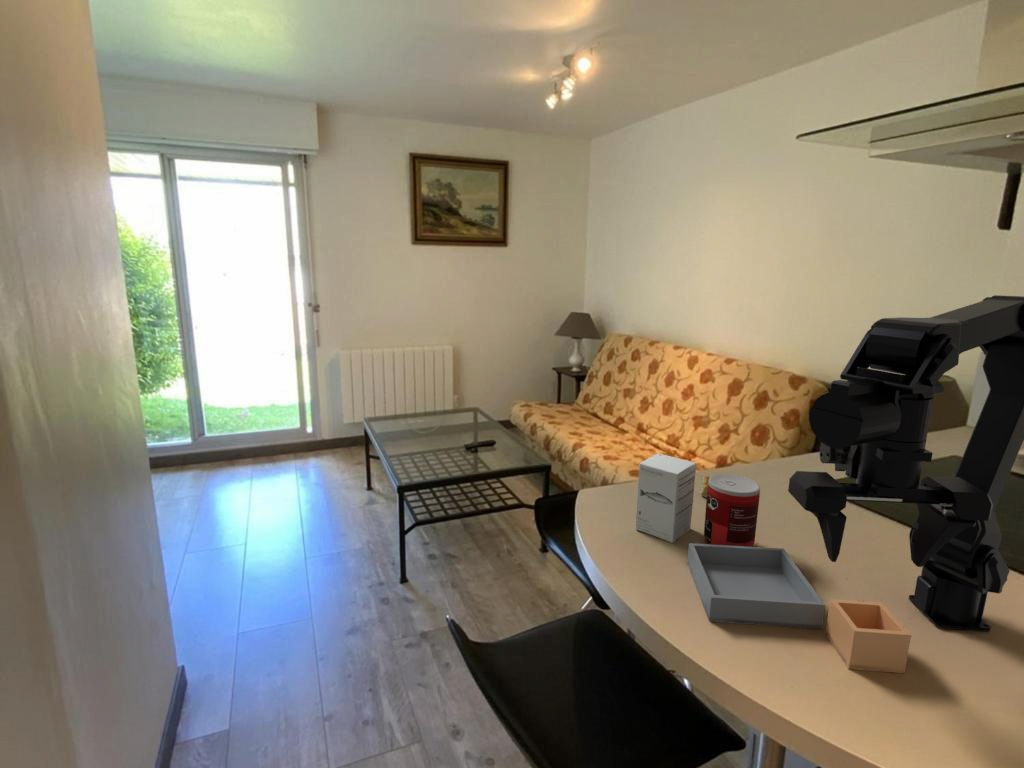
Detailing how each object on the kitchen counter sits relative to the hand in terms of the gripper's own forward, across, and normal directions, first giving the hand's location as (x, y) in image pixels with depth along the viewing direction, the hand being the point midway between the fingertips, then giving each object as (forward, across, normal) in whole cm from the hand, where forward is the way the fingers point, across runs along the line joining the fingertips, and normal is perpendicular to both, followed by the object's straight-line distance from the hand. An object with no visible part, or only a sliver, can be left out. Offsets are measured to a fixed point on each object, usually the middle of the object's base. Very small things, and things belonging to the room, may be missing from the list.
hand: (874, 562), depth 63 cm
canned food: (+12, +9, -25) cm, 29 cm away
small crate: (+12, 0, 0) cm, 12 cm away
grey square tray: (+12, +10, -10) cm, 19 cm away
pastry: (+12, +6, -45) cm, 47 cm away
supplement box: (+12, +19, -28) cm, 36 cm away
